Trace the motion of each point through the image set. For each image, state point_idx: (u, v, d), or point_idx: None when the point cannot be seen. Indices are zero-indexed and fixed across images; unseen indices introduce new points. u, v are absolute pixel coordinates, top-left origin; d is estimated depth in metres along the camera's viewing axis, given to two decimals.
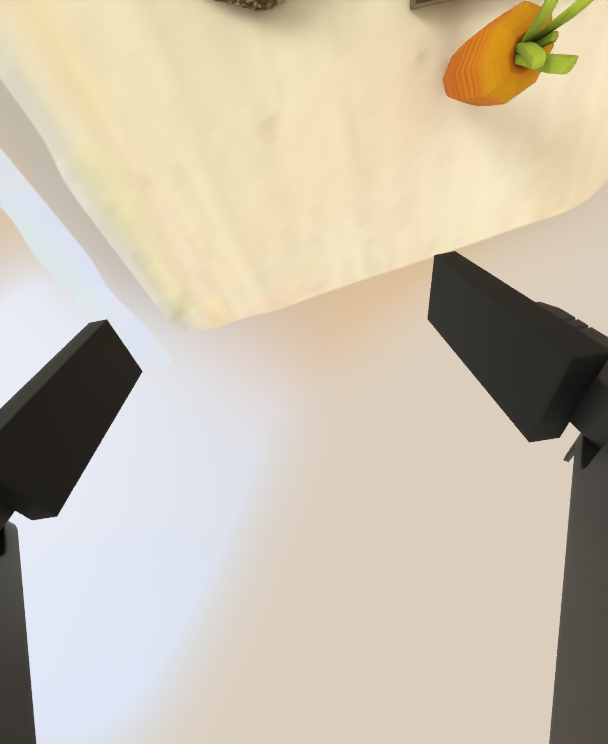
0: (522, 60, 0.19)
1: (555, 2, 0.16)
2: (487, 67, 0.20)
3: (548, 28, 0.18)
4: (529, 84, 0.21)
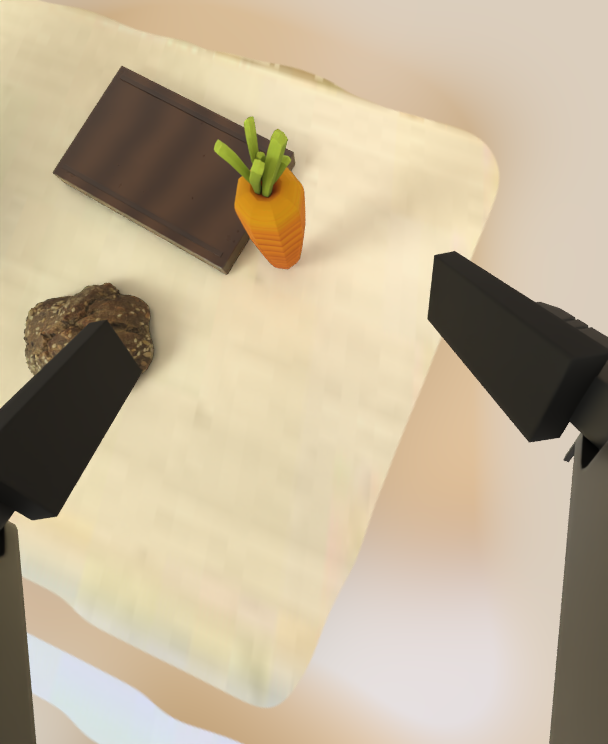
0: (265, 188, 0.18)
1: (222, 145, 0.16)
2: (254, 221, 0.19)
3: (254, 161, 0.17)
4: (297, 189, 0.19)
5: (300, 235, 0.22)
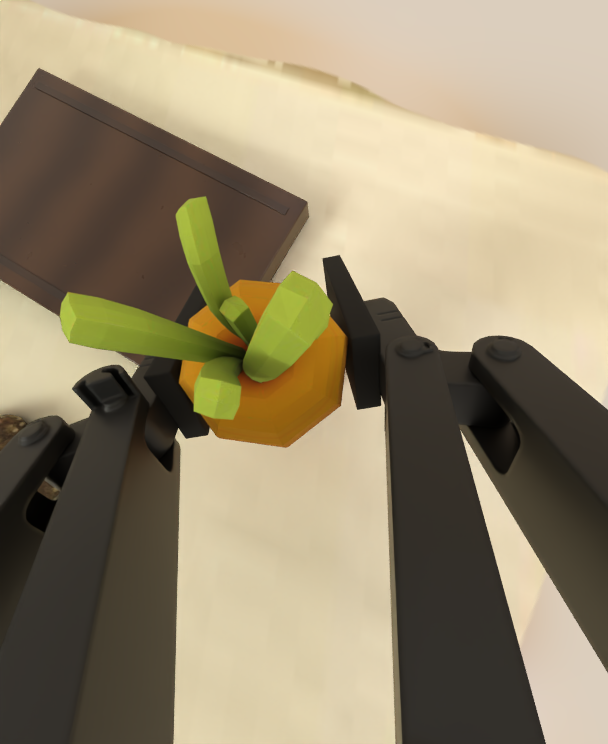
0: (252, 377, 0.06)
1: (80, 319, 0.04)
2: (226, 434, 0.07)
3: (216, 314, 0.06)
4: (337, 352, 0.07)
5: None
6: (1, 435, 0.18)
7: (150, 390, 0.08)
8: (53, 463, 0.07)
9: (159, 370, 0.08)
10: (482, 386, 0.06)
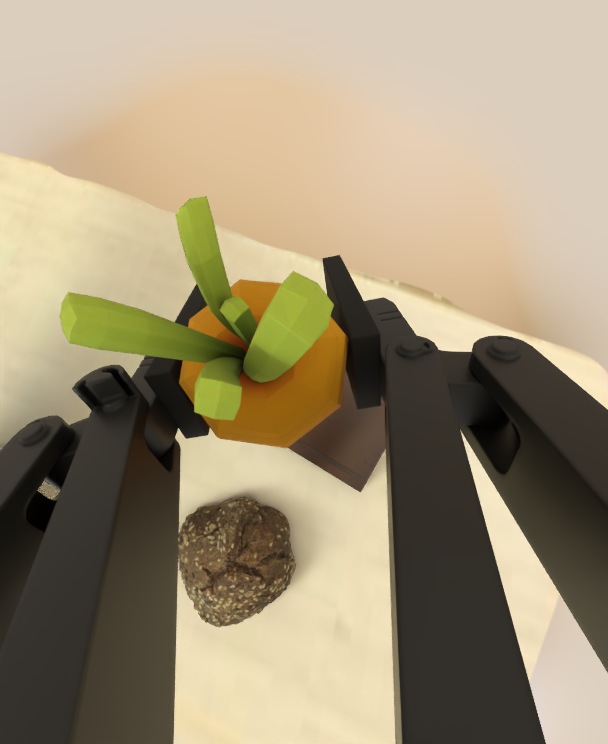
0: (253, 377, 0.06)
1: (80, 319, 0.04)
2: (226, 434, 0.07)
3: (217, 314, 0.06)
4: (338, 352, 0.07)
5: None
6: (252, 512, 0.32)
7: (150, 390, 0.08)
8: (53, 463, 0.07)
9: (159, 370, 0.08)
10: (482, 386, 0.06)
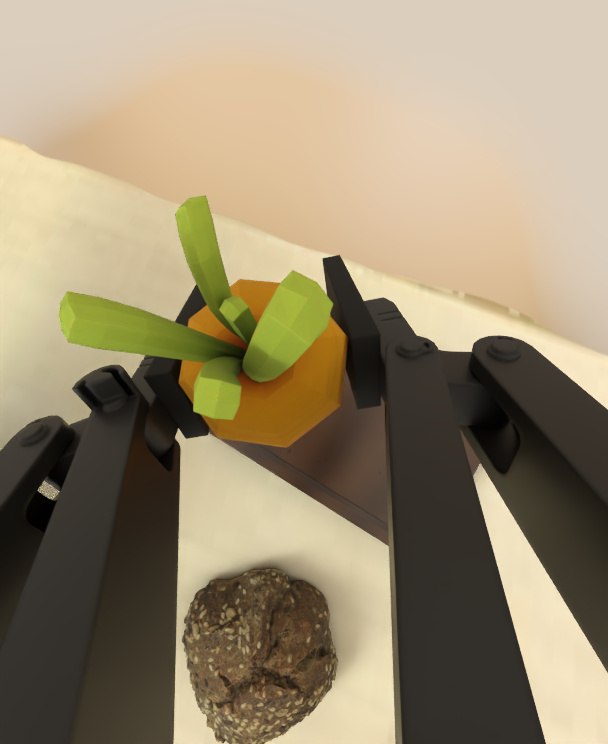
0: (252, 377, 0.06)
1: (79, 319, 0.04)
2: (226, 434, 0.07)
3: (217, 314, 0.06)
4: (337, 352, 0.07)
5: None
6: (281, 592, 0.24)
7: (150, 390, 0.08)
8: (53, 463, 0.07)
9: (159, 370, 0.08)
10: (482, 386, 0.06)
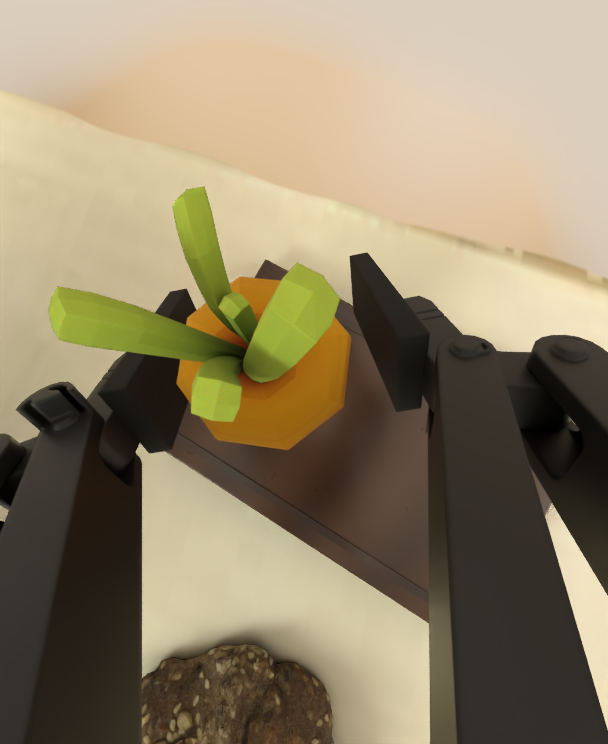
0: (253, 377, 0.06)
1: (70, 315, 0.04)
2: (225, 436, 0.07)
3: (216, 312, 0.06)
4: (340, 351, 0.07)
5: None
6: (262, 686, 0.16)
7: (108, 405, 0.08)
8: (2, 481, 0.07)
9: (114, 386, 0.08)
10: (546, 388, 0.06)
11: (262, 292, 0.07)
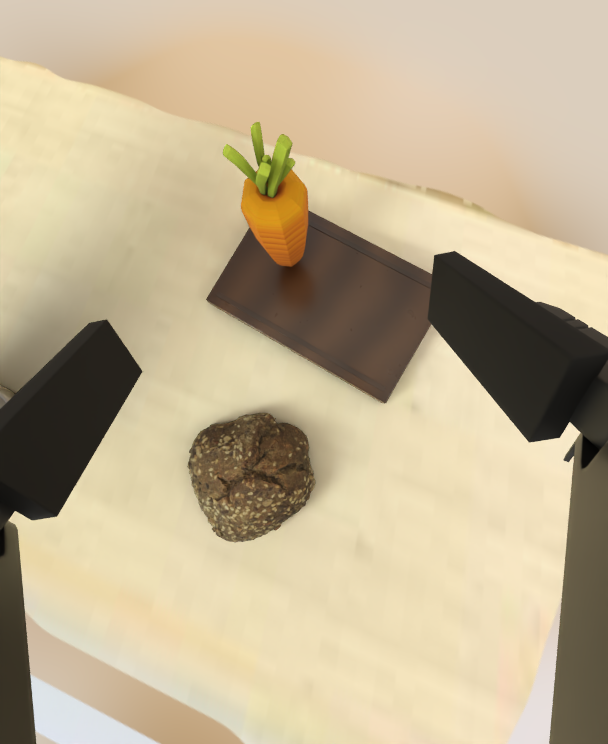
0: (270, 189, 0.19)
1: (231, 149, 0.17)
2: (260, 220, 0.20)
3: (260, 164, 0.18)
4: (301, 189, 0.20)
5: (303, 234, 0.23)
6: (269, 425, 0.30)
7: None
8: None
9: None
10: None
11: None
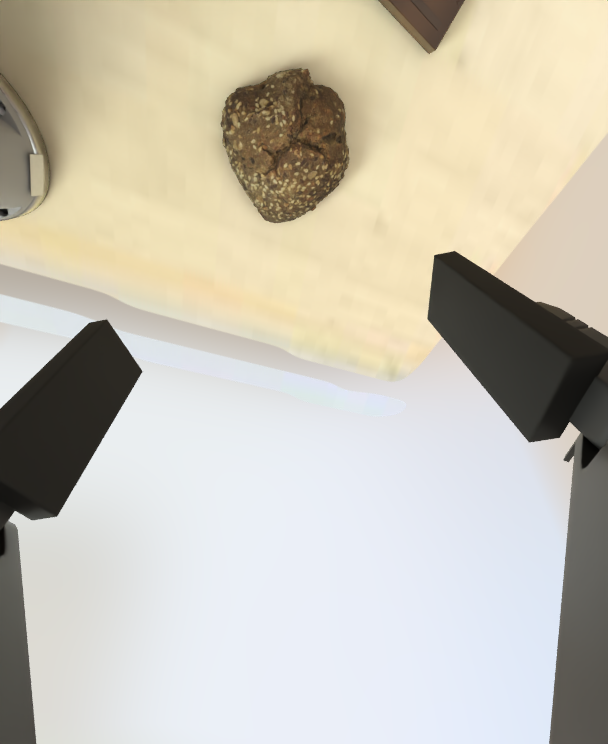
0: None
1: None
2: None
3: None
4: None
5: None
6: (307, 85, 0.27)
7: None
8: None
9: None
10: None
11: None
